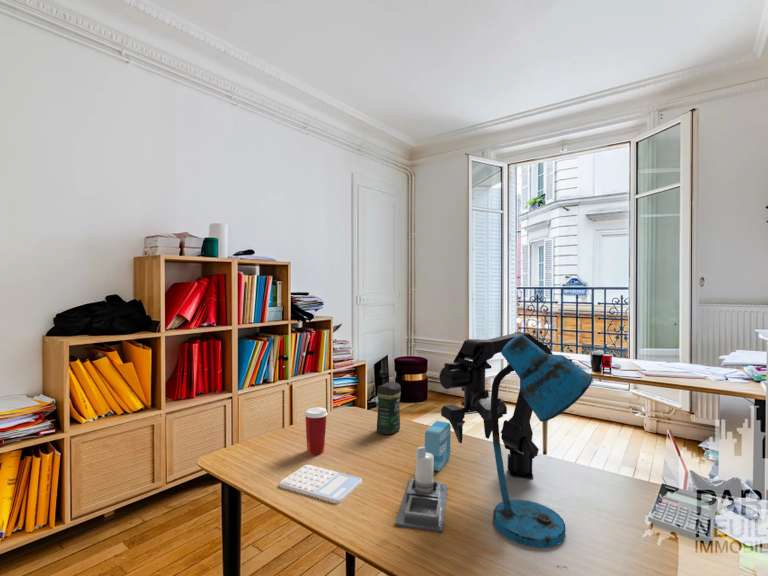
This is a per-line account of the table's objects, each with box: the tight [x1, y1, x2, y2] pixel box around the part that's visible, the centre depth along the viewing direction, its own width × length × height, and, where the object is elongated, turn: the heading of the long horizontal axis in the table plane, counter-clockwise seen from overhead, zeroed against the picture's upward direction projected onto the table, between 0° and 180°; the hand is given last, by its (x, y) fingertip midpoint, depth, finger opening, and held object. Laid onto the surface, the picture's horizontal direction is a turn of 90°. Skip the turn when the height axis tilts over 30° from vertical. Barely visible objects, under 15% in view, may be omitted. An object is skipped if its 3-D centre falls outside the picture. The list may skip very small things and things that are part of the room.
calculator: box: [278, 464, 363, 505], centre depth 111 cm, size 13×20×2 cm, turn 64°
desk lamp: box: [490, 334, 594, 548], centre depth 92 cm, size 16×22×45 cm
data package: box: [424, 420, 452, 472], centre depth 125 cm, size 12×4×12 cm, turn 153°
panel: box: [394, 477, 449, 533], centre depth 101 cm, size 11×21×2 cm, turn 167°
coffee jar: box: [376, 381, 402, 435], centre depth 153 cm, size 10×8×19 cm
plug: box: [414, 445, 435, 495], centre depth 105 cm, size 5×5×12 cm
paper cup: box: [304, 406, 328, 456], centre depth 133 cm, size 8×8×14 cm
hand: (474, 440), depth 110 cm, fingers open, 9 cm apart
